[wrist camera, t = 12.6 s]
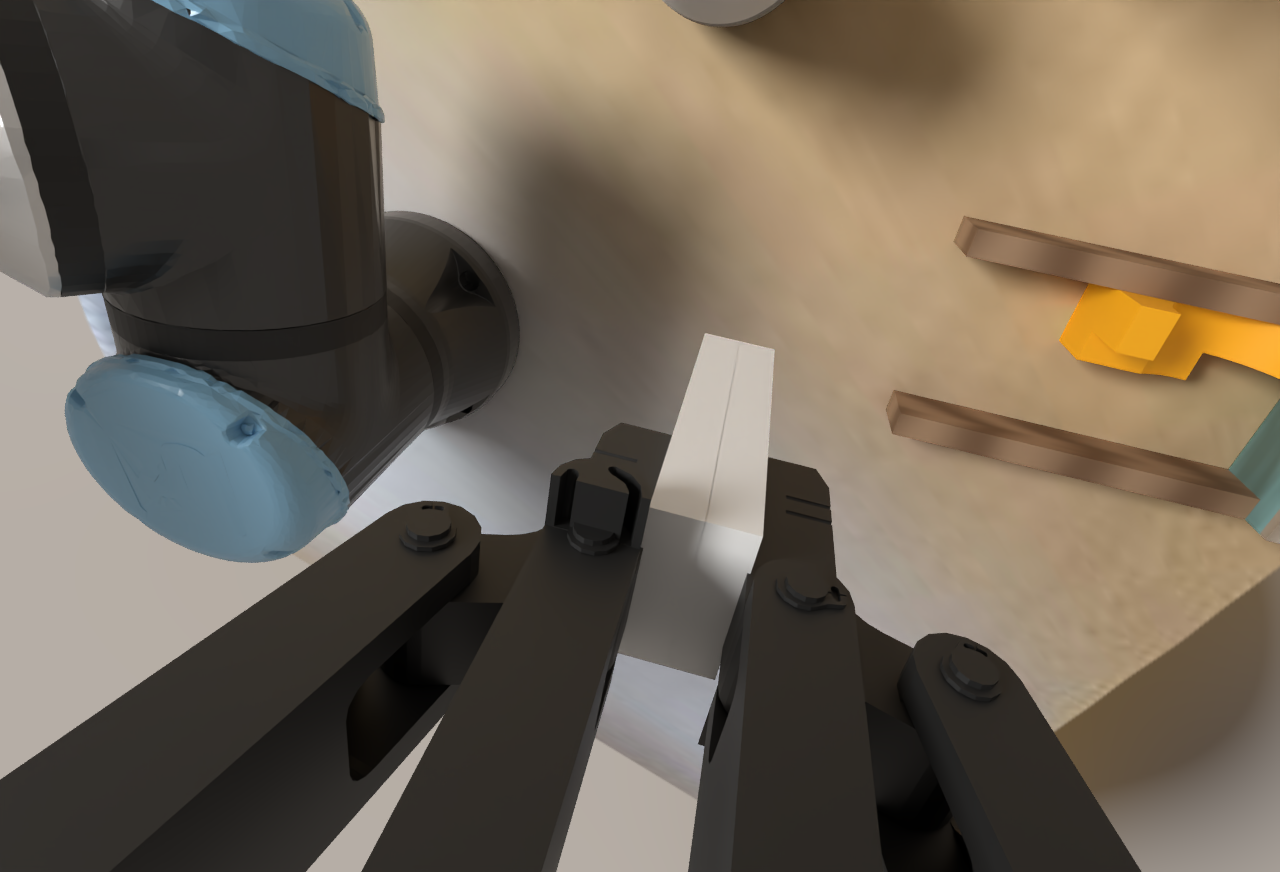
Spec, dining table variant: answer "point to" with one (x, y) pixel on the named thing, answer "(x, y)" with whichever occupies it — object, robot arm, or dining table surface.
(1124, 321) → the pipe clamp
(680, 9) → the smart speaker
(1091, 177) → the dining table surface
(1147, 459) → the channel
